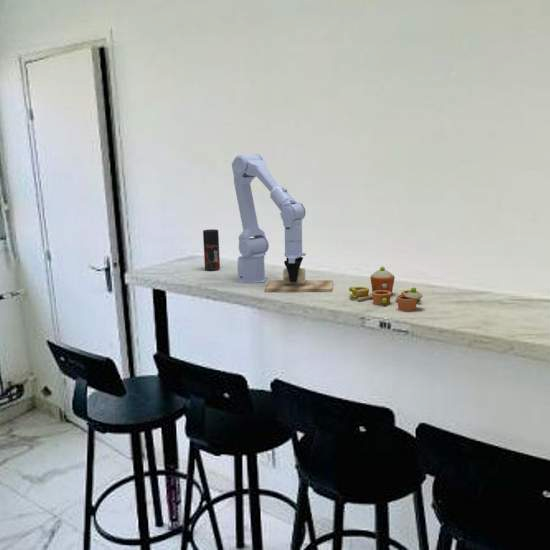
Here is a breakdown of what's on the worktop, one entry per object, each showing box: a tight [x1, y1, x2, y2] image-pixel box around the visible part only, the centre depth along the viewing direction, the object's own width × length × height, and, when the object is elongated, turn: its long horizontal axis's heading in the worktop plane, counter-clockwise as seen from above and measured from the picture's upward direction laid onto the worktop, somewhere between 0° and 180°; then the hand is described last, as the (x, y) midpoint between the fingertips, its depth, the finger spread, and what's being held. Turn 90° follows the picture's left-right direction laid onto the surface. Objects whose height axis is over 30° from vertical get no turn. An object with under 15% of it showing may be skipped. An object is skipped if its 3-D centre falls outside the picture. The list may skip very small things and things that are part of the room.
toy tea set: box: [348, 266, 424, 312], centre depth 180 cm, size 26×16×10 cm, turn 37°
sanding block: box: [282, 267, 306, 286], centre depth 201 cm, size 7×4×5 cm, turn 83°
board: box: [264, 279, 334, 293], centre depth 201 cm, size 22×12×1 cm, turn 83°
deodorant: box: [202, 228, 221, 271], centre depth 235 cm, size 6×6×15 cm
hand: (294, 280), depth 201 cm, fingers closed on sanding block, 4 cm apart
